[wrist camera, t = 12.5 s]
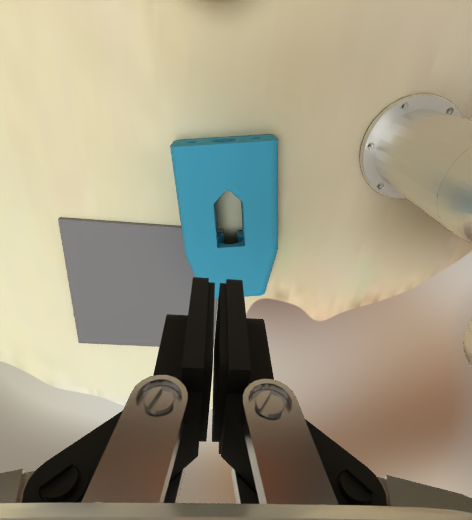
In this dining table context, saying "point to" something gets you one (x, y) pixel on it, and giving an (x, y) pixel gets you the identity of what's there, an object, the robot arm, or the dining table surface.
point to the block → (252, 200)
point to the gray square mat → (125, 279)
